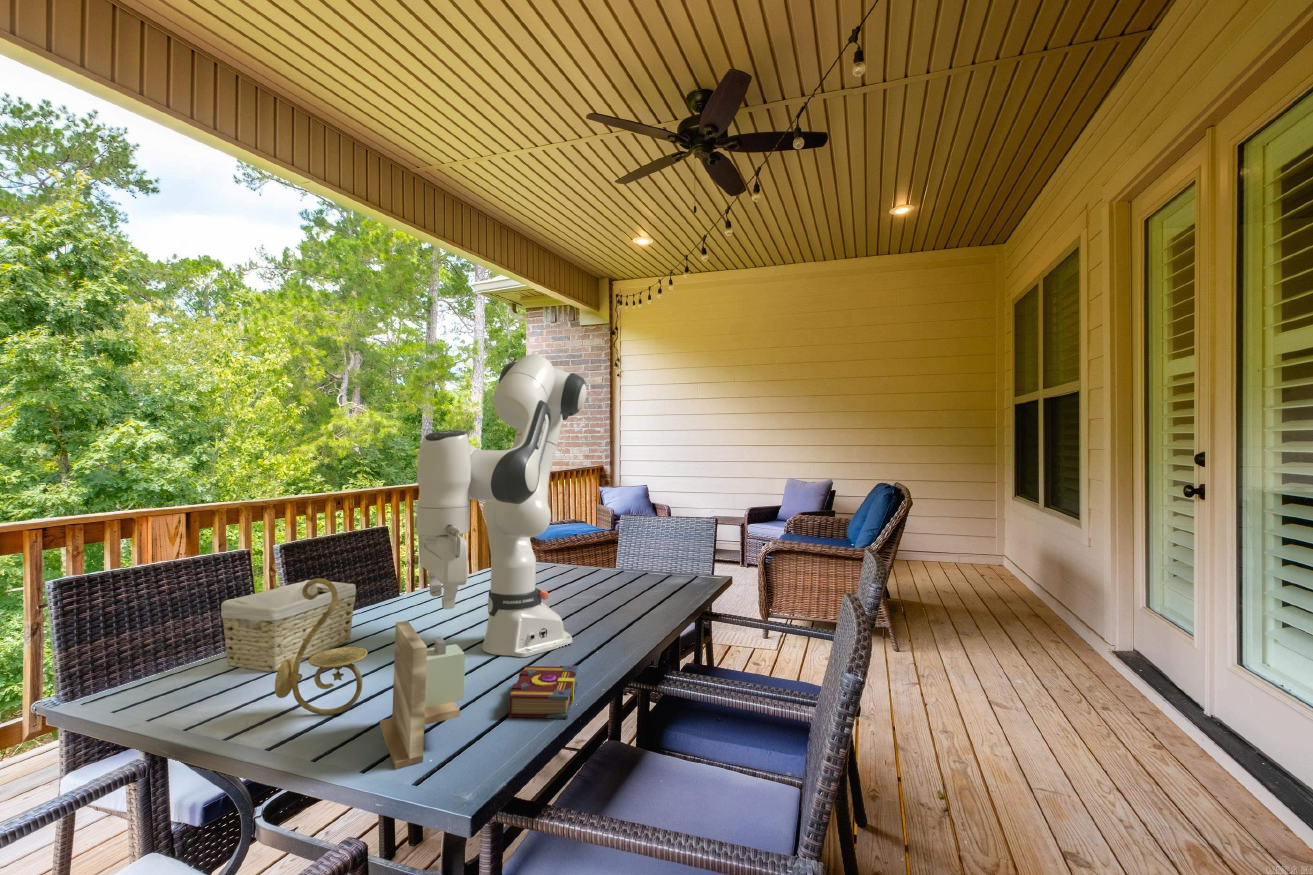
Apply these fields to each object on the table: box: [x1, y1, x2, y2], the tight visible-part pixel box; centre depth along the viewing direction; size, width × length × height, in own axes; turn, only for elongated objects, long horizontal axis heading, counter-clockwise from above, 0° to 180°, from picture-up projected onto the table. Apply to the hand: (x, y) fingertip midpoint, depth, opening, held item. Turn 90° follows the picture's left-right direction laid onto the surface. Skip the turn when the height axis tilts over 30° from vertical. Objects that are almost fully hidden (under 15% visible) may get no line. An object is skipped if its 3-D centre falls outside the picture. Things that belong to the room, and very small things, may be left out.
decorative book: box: [508, 665, 579, 720], centre depth 111 cm, size 11×16×5 cm
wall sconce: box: [274, 577, 368, 716], centre depth 103 cm, size 14×10×25 cm
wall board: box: [379, 620, 461, 770], centre depth 96 cm, size 10×16×18 cm, turn 34°
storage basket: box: [220, 579, 357, 673], centre depth 134 cm, size 24×16×15 cm
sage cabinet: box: [425, 637, 466, 708], centre depth 98 cm, size 8×6×10 cm
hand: (441, 601), depth 98 cm, fingers open, 8 cm apart
